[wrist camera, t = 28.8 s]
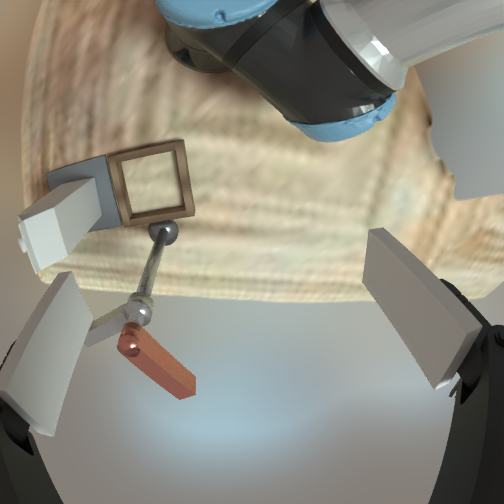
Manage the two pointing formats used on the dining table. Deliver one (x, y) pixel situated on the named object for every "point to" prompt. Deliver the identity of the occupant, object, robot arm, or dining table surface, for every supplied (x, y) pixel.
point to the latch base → (168, 225)
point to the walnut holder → (156, 215)
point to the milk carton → (58, 222)
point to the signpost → (144, 332)
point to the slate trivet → (103, 184)
